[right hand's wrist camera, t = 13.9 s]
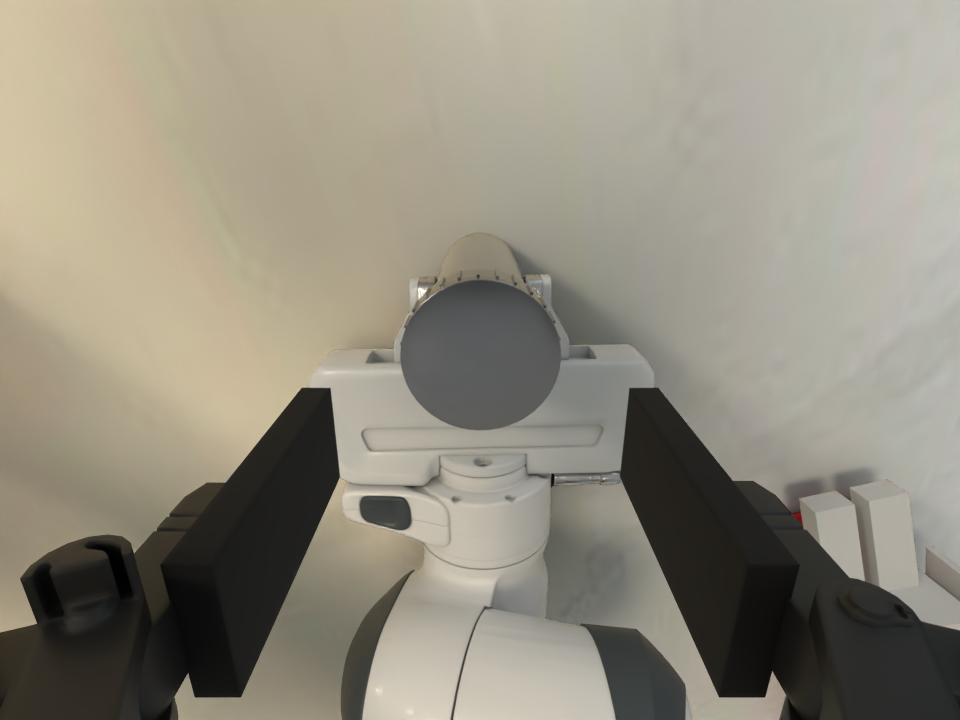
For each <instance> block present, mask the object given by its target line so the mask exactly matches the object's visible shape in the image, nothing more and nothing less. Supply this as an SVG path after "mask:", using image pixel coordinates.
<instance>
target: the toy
mask: <svg viewBox="0 0 960 720" xmlns="http://www.w3.org/2000/svg"><path fill="white" fill-rule="evenodd" d="M849 490H850V497H851V501H849V500H848V499H847V498H845V497H844V496H843V495H841V494H840V493H839V492H837V491H836V490H835V491H831V492H826V493H821V494H817V495H812V496H808V497H803V498H799V503H800V510H801V512H800V513H796V514H792V515H794V516H795V517H796V519H797V520H798V521H799V522H800V523H801V524H802V525H803V529H804V530H807V531H808V532H809V533H810V534H811V535H812V536H813V537H814V539H815V540H816V541H817V542H818V543H819V544H820V545H821V546H822V547H823V549H824V550H825V551H826V552H827V553H828V554H829V555H830V556H831V558H832V559H833V560H834V561H835V562H836V563H837V564H838V565H839V566H840V568H841V569H842V570H843V571H844V572H845V573H846V574H847V575H848V576H849V578H855V579H859V580H862V581H865V582H868V583H871V584H874V585H877V586H879V587H881V588H882V589H884V590H886V591H888V592H890V593H891V594H893V595H895V596H897V597H898V598H899V599H901V600H902V601H903V602H904V603H905V604H907V605H908V606H909V607H910V608H911V609H913V611H914V612H915V613H916V615H917V616H918V618H919V619H920V621H923V622H926V623H930V624H934V625H939V626H943V627H947V628H952V629H956V630H960V566H958V565H957V564H956V563H954V562H953V561H952V560H950V559H949V558H948V557H946V556H945V555H944V554H942V553H941V552H940V551H939V550H937V549H936V548H935V547H927V548H926V575H925V574H924V573H923V572H922V571H920V570H919V569H918V568H917V561H916V552H915V543H914V534H913V525H912V516H911V507H910V498H909V493H908V492H907V491H905V490H903V489H902V488H900V487H899V486H897V485H895V484H894V483H892V482H890V481H889V480H887V479H886V480H881V481H877V482H872V483H868V484H863V485H858V486H854V487H849Z"/></svg>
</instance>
